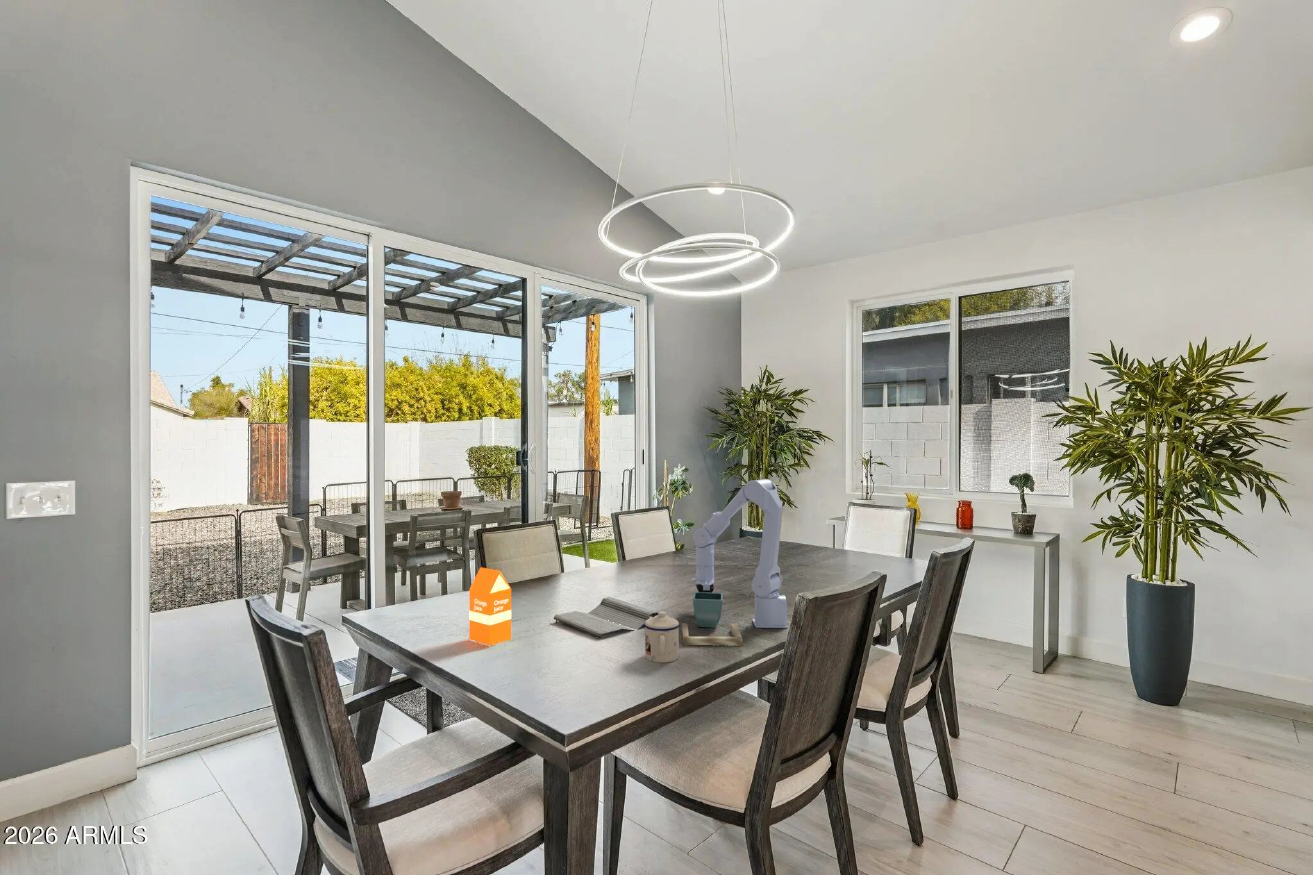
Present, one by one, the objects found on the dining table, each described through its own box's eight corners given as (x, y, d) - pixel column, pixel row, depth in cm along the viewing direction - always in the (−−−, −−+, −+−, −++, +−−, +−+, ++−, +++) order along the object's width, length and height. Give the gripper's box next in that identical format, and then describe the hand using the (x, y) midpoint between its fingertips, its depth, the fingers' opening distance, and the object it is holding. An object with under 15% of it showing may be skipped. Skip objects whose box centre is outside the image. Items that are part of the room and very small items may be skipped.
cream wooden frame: (736, 630, 183) (736, 623, 183) (742, 645, 169) (742, 638, 169) (682, 630, 183) (682, 623, 183) (683, 645, 169) (683, 638, 169)
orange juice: (491, 634, 179) (491, 565, 179) (511, 639, 174) (511, 568, 174) (468, 641, 172) (468, 569, 172) (489, 647, 167) (489, 573, 167)
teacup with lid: (644, 651, 165) (644, 607, 165) (678, 651, 165) (678, 607, 165) (643, 667, 153) (643, 620, 153) (680, 667, 153) (680, 620, 153)
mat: (552, 624, 190) (552, 609, 190) (611, 610, 206) (611, 595, 206) (599, 642, 173) (600, 625, 173) (660, 625, 190) (660, 609, 190)
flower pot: (722, 621, 192) (722, 592, 192) (722, 630, 183) (722, 599, 183) (694, 620, 192) (694, 591, 192) (692, 629, 184) (692, 599, 184)
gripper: (691, 560, 208) (691, 601, 208) (693, 570, 193) (693, 613, 193) (712, 560, 208) (712, 601, 208) (716, 570, 193) (716, 613, 193)
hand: (704, 607), depth 201 cm, fingers closed
